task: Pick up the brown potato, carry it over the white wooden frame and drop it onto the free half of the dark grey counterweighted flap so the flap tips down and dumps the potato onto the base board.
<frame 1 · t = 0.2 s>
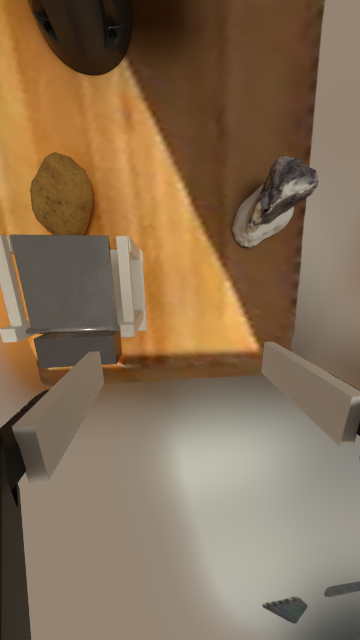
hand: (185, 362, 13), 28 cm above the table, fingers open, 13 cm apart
stone: (254, 217, 37), on the table
frame: (99, 292, 38), on the table
flap: (75, 304, 27), point 11 cm above the table, hinge at 0.0°
potato: (74, 207, 34), on the table
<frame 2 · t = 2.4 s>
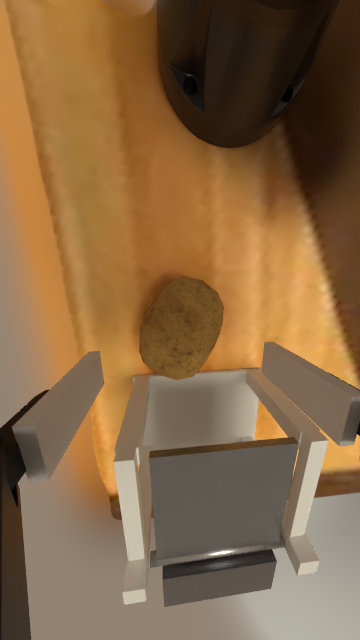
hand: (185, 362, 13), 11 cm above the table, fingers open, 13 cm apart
frame: (197, 419, 28), on the table
flap: (217, 510, 18), point 11 cm above the table, hinge at 0.0°
potato: (178, 322, 24), on the table
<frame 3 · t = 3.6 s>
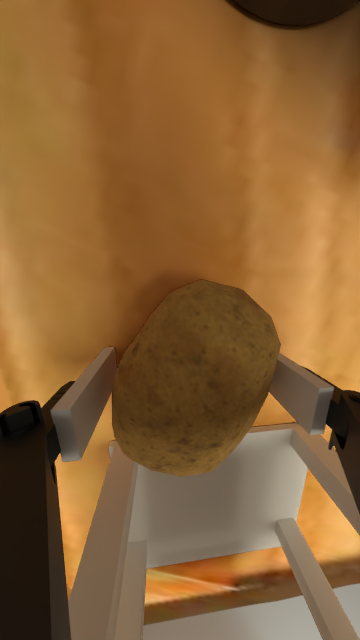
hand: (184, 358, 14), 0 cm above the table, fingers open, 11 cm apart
frame: (213, 497, 18), on the table
potato: (184, 355, 14), on the table
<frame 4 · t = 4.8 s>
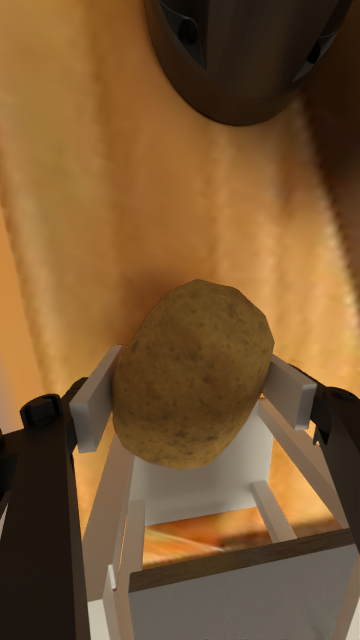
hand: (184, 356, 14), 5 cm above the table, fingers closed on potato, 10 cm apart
frame: (199, 462, 23), on the table
flap: (234, 628, 12), point 11 cm above the table, hinge at 0.0°
potato: (183, 353, 15), point 4 cm above the table, touching gripper
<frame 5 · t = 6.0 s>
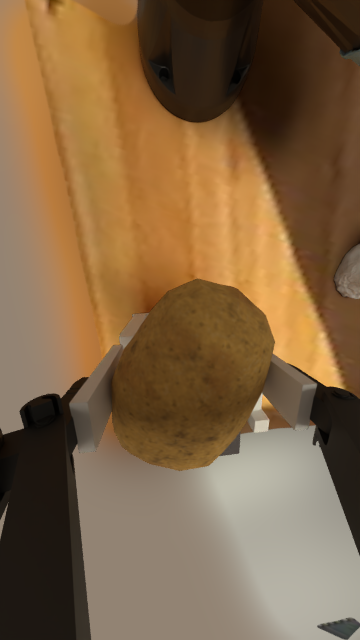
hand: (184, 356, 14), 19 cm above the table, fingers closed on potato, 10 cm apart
stone: (359, 263, 33), on the table
frame: (186, 352, 35), on the table
flap: (196, 393, 24), point 11 cm above the table, hinge at 0.0°
potato: (183, 353, 15), point 18 cm above the table, touching gripper
when the fingers open (15 cm above the table, at t = 7.2 s): potato drops 7 cm, resting on flap.
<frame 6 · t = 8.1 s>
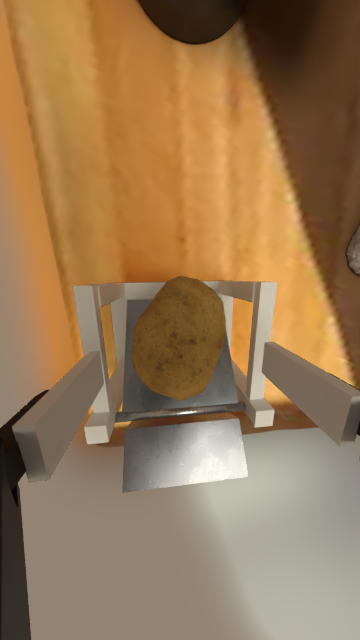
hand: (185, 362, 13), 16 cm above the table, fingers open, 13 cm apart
frame: (174, 334, 29), on the table
flap: (179, 374, 21), point 9 cm above the table, hinge at -33.7°, touching potato
potato: (178, 340, 21), point 8 cm above the table, touching flap
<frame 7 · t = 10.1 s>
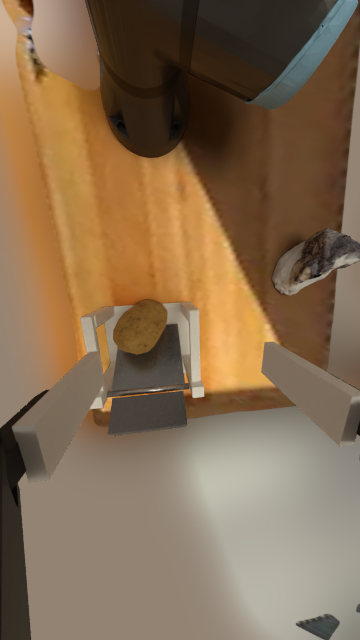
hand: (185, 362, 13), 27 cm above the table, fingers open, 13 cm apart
stone: (292, 266, 40), on the table
frame: (151, 341, 41), on the table
flap: (149, 370, 33), point 8 cm above the table, hinge at -49.6°, touching potato
potato: (147, 336, 36), point 4 cm above the table, touching flap, frame
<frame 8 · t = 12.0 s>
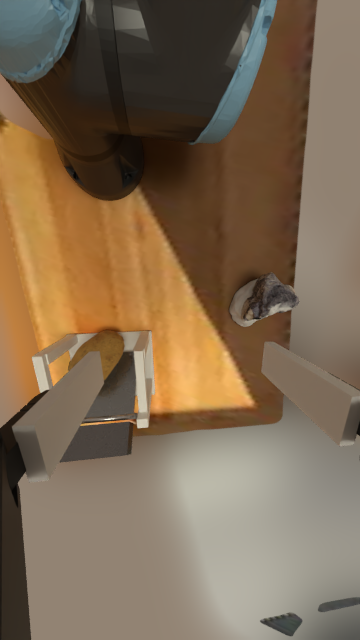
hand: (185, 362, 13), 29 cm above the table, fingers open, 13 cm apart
stone: (248, 299, 43), on the table
frame: (114, 365, 43), on the table
flap: (105, 398, 36), point 8 cm above the table, hinge at -49.6°, touching potato
potato: (106, 364, 39), point 4 cm above the table, touching flap, frame
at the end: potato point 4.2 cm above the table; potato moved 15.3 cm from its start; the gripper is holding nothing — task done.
